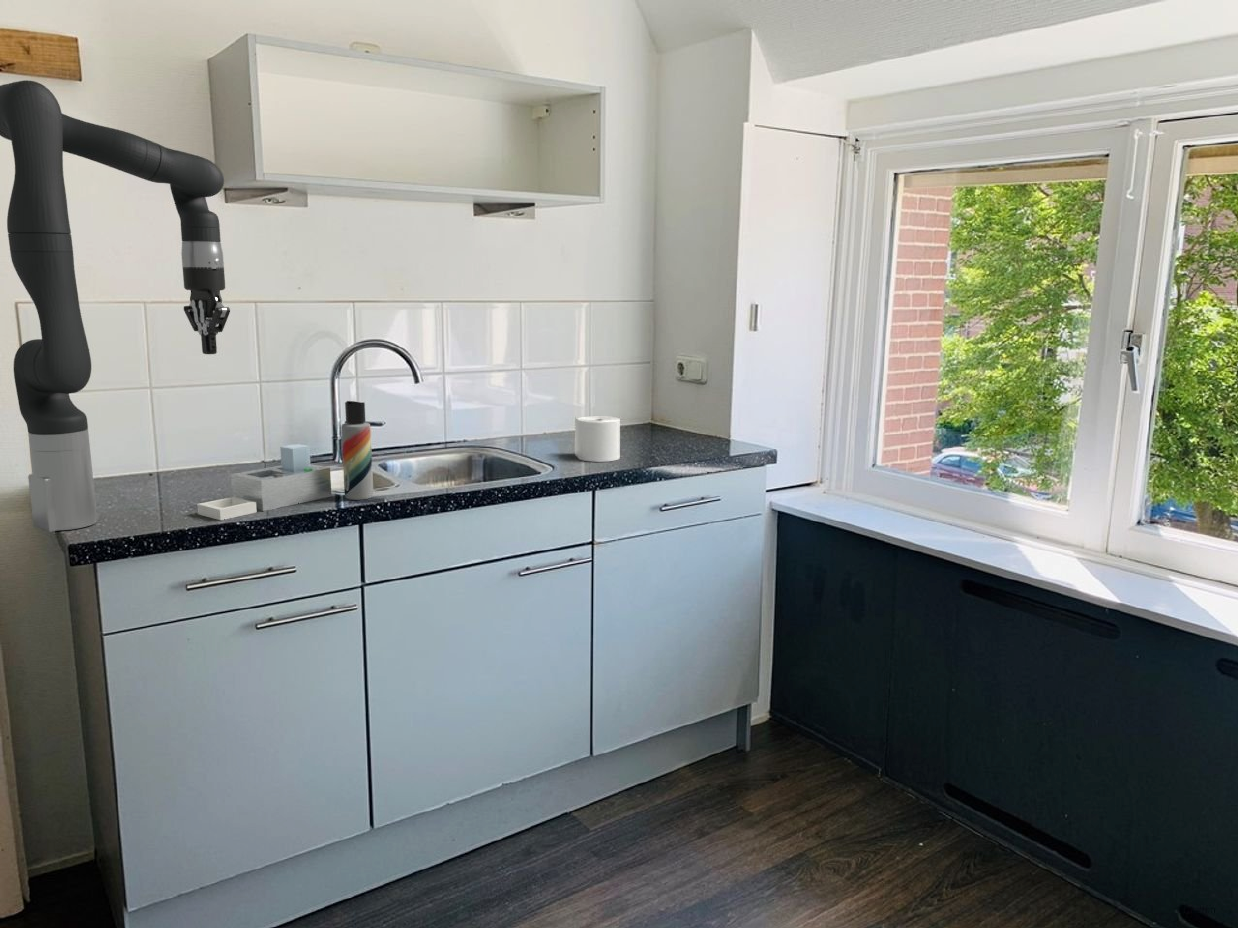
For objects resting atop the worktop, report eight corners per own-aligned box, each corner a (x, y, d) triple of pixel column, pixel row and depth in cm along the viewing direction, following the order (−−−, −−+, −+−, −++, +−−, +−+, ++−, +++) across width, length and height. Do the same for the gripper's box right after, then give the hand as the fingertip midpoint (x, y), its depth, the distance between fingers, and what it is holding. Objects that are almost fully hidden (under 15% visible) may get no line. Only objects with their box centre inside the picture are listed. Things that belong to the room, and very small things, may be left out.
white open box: (220, 520, 175) (219, 509, 175) (197, 514, 179) (197, 504, 179) (256, 512, 181) (255, 502, 181) (233, 506, 185) (233, 496, 185)
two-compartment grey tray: (263, 511, 182) (261, 478, 181) (232, 503, 188) (230, 472, 186) (331, 496, 195) (329, 465, 194) (301, 489, 201) (299, 460, 199)
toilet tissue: (617, 463, 232) (617, 422, 231) (568, 461, 234) (568, 421, 232) (622, 455, 243) (622, 416, 241) (576, 453, 244) (576, 415, 242)
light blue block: (295, 492, 191) (292, 448, 189) (283, 490, 193) (280, 446, 192) (311, 489, 194) (309, 446, 193) (299, 486, 197) (297, 444, 195)
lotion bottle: (338, 497, 194) (333, 400, 190) (359, 492, 198) (355, 397, 194) (358, 501, 191) (354, 402, 187) (379, 496, 195) (375, 399, 191)
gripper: (166, 265, 187) (173, 353, 190) (204, 265, 179) (211, 357, 183) (201, 266, 193) (208, 351, 196) (240, 266, 185) (246, 354, 189)
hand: (209, 353), depth 190 cm, fingers closed
